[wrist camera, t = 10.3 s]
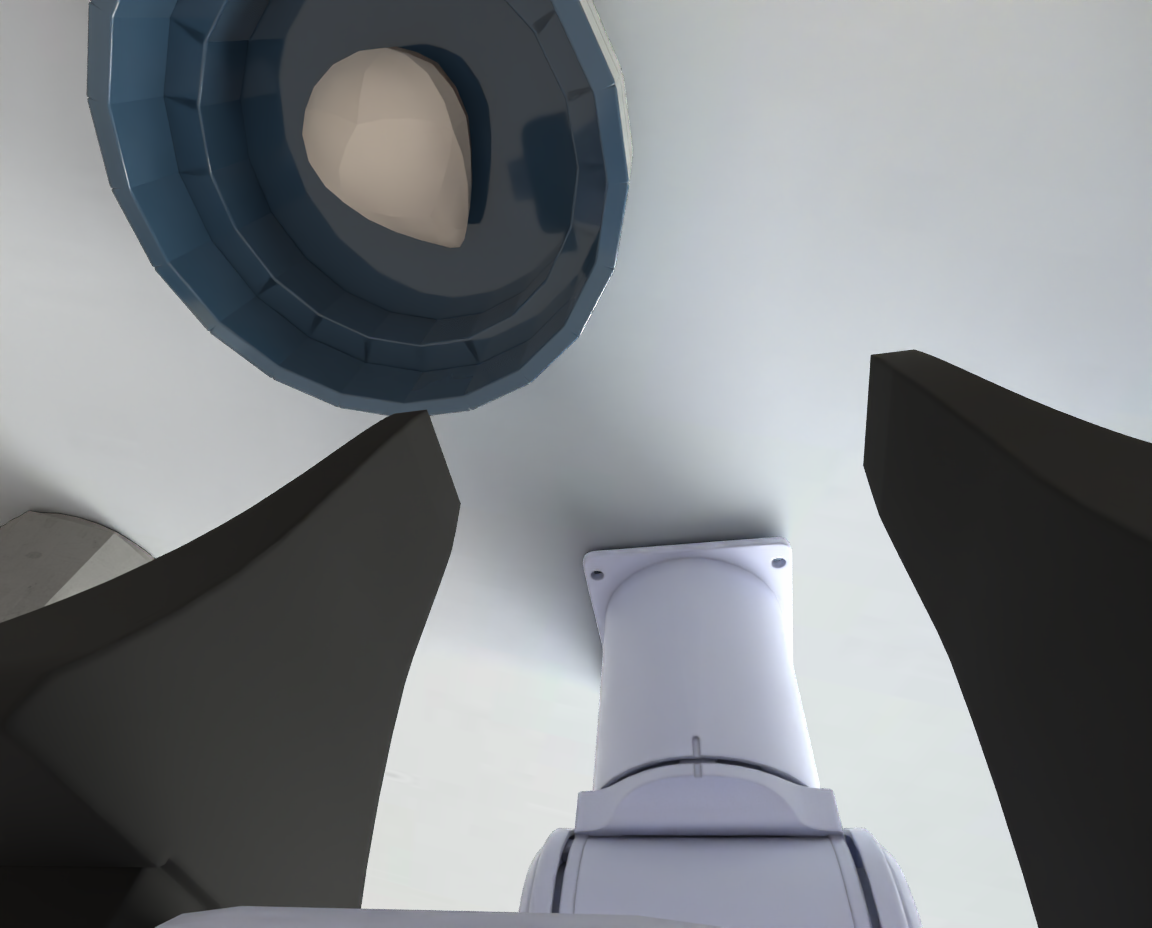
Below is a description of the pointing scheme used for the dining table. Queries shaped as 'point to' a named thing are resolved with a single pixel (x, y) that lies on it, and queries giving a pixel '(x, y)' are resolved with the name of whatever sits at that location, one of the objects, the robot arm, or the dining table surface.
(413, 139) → the beige pebble
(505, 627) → the dining table surface
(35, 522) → the coffeepot
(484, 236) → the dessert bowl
